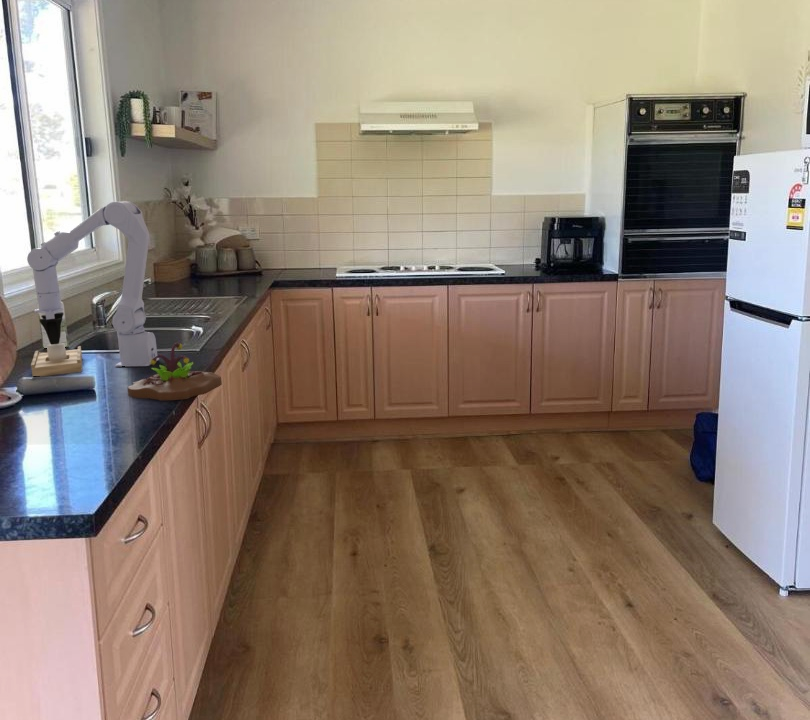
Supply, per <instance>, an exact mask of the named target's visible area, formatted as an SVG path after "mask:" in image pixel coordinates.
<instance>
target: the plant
mask: <svg viewBox="0 0 810 720" xmlns="http://www.w3.org/2000/svg"><path fill="white" fill-rule="evenodd" d="M175 348H176V349H175ZM182 348H183V344H182V343H180V342H175V343H173V345H172V347H171V350H170V356H169V357H170V359H169V358H168V357H167V356H166V355H163V354H157V355H158V356H156V357H155V358H153V359H152V360H151V365H152V366H154V365H156V363H157V361H156V359H157V358H159V359H160V358H161V359H162V360H163V361H164V363H165V365H161V364H159V368H157V367H151V370H153V371H155V372H156V374H153V375H150V376H149V377H145V378H142V379H140V380H137V381H133V382H132V383H131V384H132V385H128V386H127V389H126V390H127V395H128V396H129V397H130V398H134V397H137V398H136V399H149V398H150V399H151V400H158V401H178V400H179V401H180V400H188V399H189V398H192V397H195V396H201V395H206V394H207V393H209V392H211V391H213V390H214V389H215V390H216V389H217V388H219V387H221V386H222V385H223V383H222V382H223V381H222V376H220V375H218V374H216V373H215V372H212V371H211V372H210V371H200V370H195V371H194V370H193V371H191V369H192V366H193V365H194V361H192V362H190V358H189V357H187V356H186V355H180V356H178V357H177V358H176V357H175V356H176V354H175V353H176V352H175V350H181V349H182ZM181 359H183V360H182V361H183V363H184V365H183V367H182V363H181V362H180V360H181Z"/></svg>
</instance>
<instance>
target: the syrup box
mask: <svg viewBox="0 0 810 720" xmlns="http://www.w3.org/2000/svg"><path fill="white" fill-rule="evenodd" d="M64 303H65V302H63V301H61V305H62V307H63V310H62V311H60V312H63V317H62V318H63V319H62V322H61V334H60V341H59V343H64V344H65V347H66V348H69V347H70V345H69V337H68V336H69V334H68V329H67V328H68V327H67V319H66V314H65V313H66V311H65V305H64ZM36 307H37V309H39V306H38V302H37V304H36ZM37 315H38V321H39V329H40V334H41V335H40V336H41V337H40V338H41V342H42V348H43V347H44V348H47V345H50V341H49V339H48V336H47V333H46V331H45V329H44V327H43V326H42V324H41V323H40V319H43V318H42V317H41V316H42V315H45V314H42V313H37ZM44 348H43V349H44Z"/></svg>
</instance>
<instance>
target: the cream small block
mask: <svg viewBox="0 0 810 720" xmlns="http://www.w3.org/2000/svg"><path fill="white" fill-rule="evenodd" d="M66 350H67V349H66V348H65V344H64V343H59V344H50V345H47V349H46V351H47V352H46V353H48V358H49V361H54V360H63V359H67V356H66Z"/></svg>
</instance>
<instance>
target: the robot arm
mask: <svg viewBox="0 0 810 720" xmlns="http://www.w3.org/2000/svg"><path fill="white" fill-rule="evenodd" d="M109 225H111V226H112V227H114V228H116V229H117V230H118V231H120V232H121V233H122V234H123V235H124V236H125V238H126V239H127V241H128V243H127V251H126V257H125V258H126V259H125V266H124V275H123V284H122V291H121V298H120V300H119V302H118V303H117V306H116V307H117V309H116V312H115V313H114V314H113V316H112V321H111V323H112V326H113V329H114V330H115V331H116V335H117V342H118V350H119V351H118V352H119V359H120V361H119V362H118V363H116V364H114V367H116V368H117V367H122V366H125V367H149V366H151V365H152V364H151V360H152V359H153V358H155V357H156V356H158V355H159V354H158V350H157V349H158V348H157V339H156V336H155V334H154V332H150V331H145V327H144V324H145V322H146V320H147V315H146V311H145V302H144V300H143V293H144V292H143V291H144V283H145V276H146V275H145V274H146V268H147V260H148V252H149V245H150V243H149V242H150V231H149V229H148V227H147V224H146V222H145V219H144V216H143V211H142V210H141V209H140V208H139V206H137V205H136V204H135V203H134V202H132V201H129V200H124V201H112V202H109V203H107V205H106V206H102V207H100V208H98V209H97V210H96V211H95V212H93V213H92V214H91V215H89V216H88V217H87V218H86V219H84V220H82V222H80V223H79V224H78V225H77V226H75V227H74V228H72V229H71V230H70V231H68V230H62V231H56V232H55V233H54V234H53V235H54V236H53V237H52V238H50V239H49V240H48V241H43V242H41V243H40V246H41V247H35V248H32V249H31V250H30V251H29V252H28V254H27V257H26V258H27V259H26V260H27V261H26V262H27V263H28V265H29V267H30V268H31V269H32V272H33V280H34V286H35V292H36V297H37V303H38V306H39V309H38V308H37V309H36V308H35V309H34V314H36V313H37V314H38V313H42V314H45V315H42V316H41V317H42V318H43V319H40V322H39V324H40V323H41V324H42V326H43V327H44V329H45V331H46V333H47V336H48V339H49V341H50V344H59V341H60V334H61V322H62V319H63V318H62V317H63V312H60V311H62V310H63V307H62V305H61V302H62V300H61V292H60V285H59V279H58V273H57V266H58V264H59V262H60V261H61V260H63V259H64V258H66V257H67V256H69V255H70V254H72V252H74V251H76V250H77V249H78V248H79V242H80V241H81V240H83V239H84V238H86V237H87V236H89V235H90V234H92V233H94V232H95V231H97V230H98V229H100V228H101V227H103V226H109ZM159 360H160V357H159V358H157V359H156V362H158V361H159Z"/></svg>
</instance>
